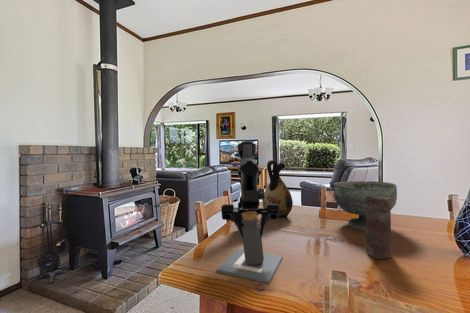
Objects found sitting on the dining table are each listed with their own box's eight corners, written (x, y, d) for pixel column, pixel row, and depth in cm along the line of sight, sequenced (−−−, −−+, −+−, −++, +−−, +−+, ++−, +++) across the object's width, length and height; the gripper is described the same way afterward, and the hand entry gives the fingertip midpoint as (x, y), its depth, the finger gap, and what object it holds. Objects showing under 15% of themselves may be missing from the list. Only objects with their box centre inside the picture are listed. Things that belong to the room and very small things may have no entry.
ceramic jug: (274, 212, 136) (274, 159, 135) (298, 217, 125) (298, 159, 124) (254, 218, 125) (253, 160, 124) (278, 225, 113) (278, 161, 112)
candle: (360, 250, 85) (361, 193, 84) (380, 249, 86) (381, 193, 85) (375, 260, 77) (376, 198, 77) (396, 259, 78) (397, 197, 77)
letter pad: (216, 271, 71) (216, 268, 71) (237, 250, 86) (237, 248, 86) (269, 283, 65) (269, 280, 65) (282, 258, 79) (282, 255, 79)
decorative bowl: (408, 239, 93) (406, 187, 93) (336, 233, 101) (335, 186, 102) (388, 222, 118) (388, 181, 118) (332, 218, 126) (331, 180, 127)
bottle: (267, 259, 75) (262, 211, 75) (254, 266, 71) (249, 216, 71) (254, 254, 79) (249, 209, 79) (241, 261, 76) (235, 214, 75)
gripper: (221, 179, 78) (219, 224, 68) (279, 179, 78) (285, 224, 68) (223, 198, 87) (221, 241, 76) (275, 198, 86) (280, 240, 76)
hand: (251, 236), depth 74 cm, fingers closed on bottle, 6 cm apart
